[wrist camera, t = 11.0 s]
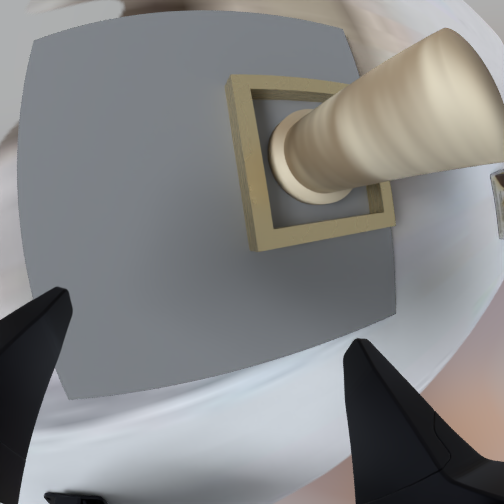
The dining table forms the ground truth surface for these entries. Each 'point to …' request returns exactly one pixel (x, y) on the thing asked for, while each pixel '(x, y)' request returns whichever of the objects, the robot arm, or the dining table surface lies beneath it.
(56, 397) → the dining table surface
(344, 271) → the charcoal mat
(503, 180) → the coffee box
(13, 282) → the dining table surface
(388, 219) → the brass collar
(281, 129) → the disc
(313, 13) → the dining table surface
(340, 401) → the dining table surface
